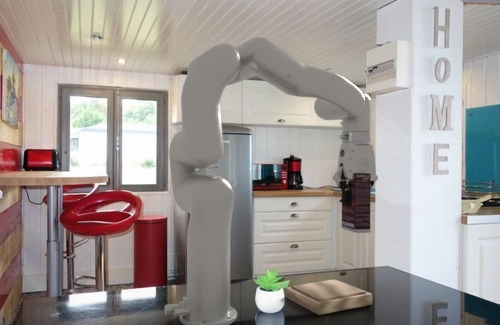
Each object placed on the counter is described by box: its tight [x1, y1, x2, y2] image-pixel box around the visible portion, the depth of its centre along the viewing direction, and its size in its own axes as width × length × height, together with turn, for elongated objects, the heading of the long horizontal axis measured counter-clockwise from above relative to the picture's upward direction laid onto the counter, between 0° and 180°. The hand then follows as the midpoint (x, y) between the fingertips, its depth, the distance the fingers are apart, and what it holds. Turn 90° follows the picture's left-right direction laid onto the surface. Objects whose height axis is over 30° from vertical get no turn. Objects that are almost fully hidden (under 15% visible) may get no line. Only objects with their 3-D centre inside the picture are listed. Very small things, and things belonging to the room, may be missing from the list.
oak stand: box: [285, 279, 373, 315], centre depth 102 cm, size 16×14×3 cm
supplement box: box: [341, 173, 371, 234], centre depth 112 cm, size 9×5×16 cm, turn 12°
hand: (355, 204), depth 112 cm, fingers closed on supplement box, 5 cm apart
